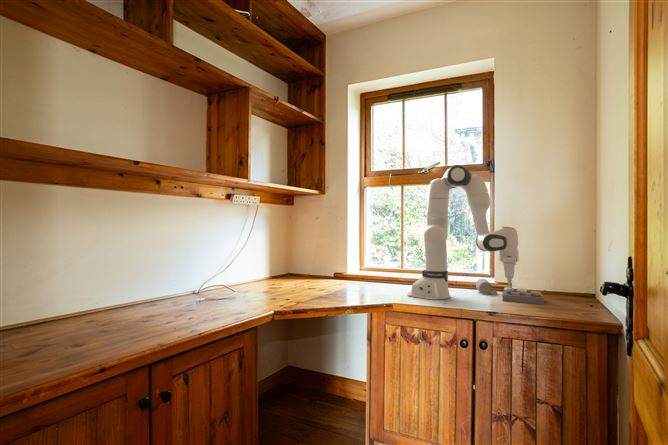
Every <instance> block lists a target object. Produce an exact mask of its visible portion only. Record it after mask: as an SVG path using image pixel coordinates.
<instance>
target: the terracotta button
mask: <svg viewBox="0 0 668 445" xmlns="http://www.w3.org/2000/svg"><path fill="white" fill-rule="evenodd" d="M530 293H531V295H533V296H541V294H542V292H541V291H537V290H532V291H530Z"/></svg>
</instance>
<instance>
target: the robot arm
mask: <svg viewBox="0 0 668 445" xmlns="http://www.w3.org/2000/svg"><path fill="white" fill-rule="evenodd" d="M456 188H461V189H463V192H464V193H465V194H464V195H465V198H466V201H467V204H468V207H469V209H470V210H469V211H470V212H471V215H472V218H473V222H474V228H475V232H476V236H475V237H476V238H475V245H476V247H477V248H478V249H479V250H480V251H482V252H491V253H493V252H498V251H499V262H502V266H503V272H504V277H505V278H506V280H507V285H508V286H512V282H513V278H514V276H515V269H516V265H517V263H518V262H519V259H520V257H519V255H520V254H519V249H518V247H519V235H518V231H517V230H516V228H513V227H509V226H501V227H500V228H498V229H496V230H495V231H492V232H490V229H489V226H488V225H489V224H488V222H487V212H488V209H489V208H490V205H491V198H490V194H489V190H488V187H487V184H486V183H485V180H484V178H483V177H482V176H481V175H480V174H476V173H475V174H474V173H473V174H471V173H470V171H468V170H467V168H466V167H464V166H462V165H459V164H456V165H452V166H450V167H449V168H447V170H446V171H445V173H444V174H443V175H442V177H441V178H434V179H433V180H431V181H430V183H429V186H428V191H427V199H426V200H427V202H426V228H425V230H424V233H423V237H424V239H423V241H424V252H425V269H423V270H422V271H421V277H420V278H419V279H417V280H416V281H414V282H413V284H412V286H411V290H410V291H408V292H407V294H406V295H407V297H410V298H412V297H413V298H418V299H419V298H420V299H427V300H444V299H445V300H446V299H450V298H451V295H450V291H449V286H448V285H449V283H448V281H449V271H448V253H447V239H448V232H449V231H448V230H449V219H448V217H449V198H450V197H449V196H450V191H451V190H452V189H456Z"/></svg>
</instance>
